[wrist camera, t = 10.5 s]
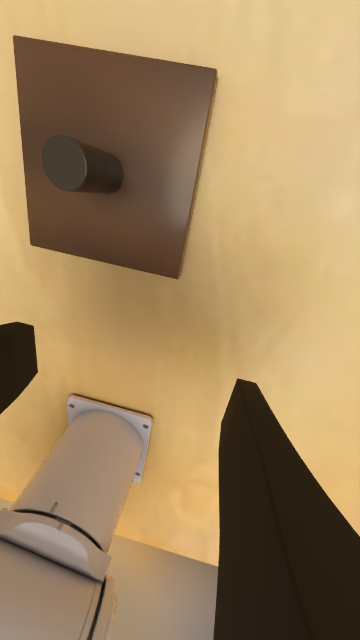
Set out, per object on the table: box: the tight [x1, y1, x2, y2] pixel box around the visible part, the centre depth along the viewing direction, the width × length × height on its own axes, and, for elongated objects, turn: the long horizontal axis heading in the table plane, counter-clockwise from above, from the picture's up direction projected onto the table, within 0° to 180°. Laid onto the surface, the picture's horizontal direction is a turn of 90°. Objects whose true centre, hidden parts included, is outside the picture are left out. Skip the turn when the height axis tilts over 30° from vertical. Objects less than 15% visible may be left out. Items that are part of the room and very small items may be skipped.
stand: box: [13, 35, 218, 279], centre depth 13 cm, size 10×10×5 cm
